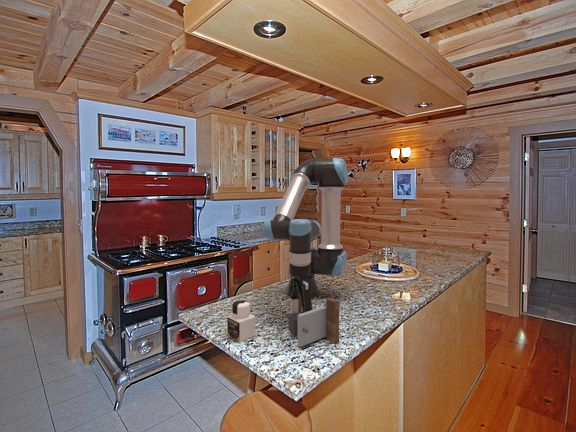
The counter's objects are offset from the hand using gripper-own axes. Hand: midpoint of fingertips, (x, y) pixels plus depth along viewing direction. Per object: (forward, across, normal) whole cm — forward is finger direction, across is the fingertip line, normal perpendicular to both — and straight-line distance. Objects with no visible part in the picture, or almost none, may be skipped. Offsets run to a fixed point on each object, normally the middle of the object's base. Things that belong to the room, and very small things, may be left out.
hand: (299, 322), depth 116 cm
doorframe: (+3, +2, +5) cm, 6 cm away
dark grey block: (+3, +1, 0) cm, 3 cm away
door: (+2, +11, +2) cm, 11 cm away
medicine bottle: (+3, -2, -21) cm, 21 cm away
